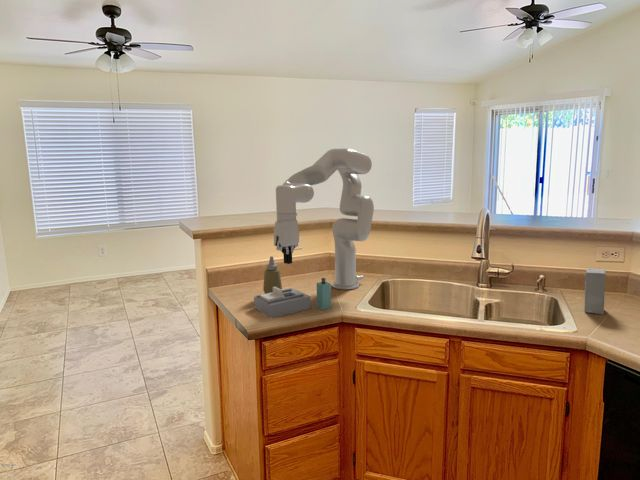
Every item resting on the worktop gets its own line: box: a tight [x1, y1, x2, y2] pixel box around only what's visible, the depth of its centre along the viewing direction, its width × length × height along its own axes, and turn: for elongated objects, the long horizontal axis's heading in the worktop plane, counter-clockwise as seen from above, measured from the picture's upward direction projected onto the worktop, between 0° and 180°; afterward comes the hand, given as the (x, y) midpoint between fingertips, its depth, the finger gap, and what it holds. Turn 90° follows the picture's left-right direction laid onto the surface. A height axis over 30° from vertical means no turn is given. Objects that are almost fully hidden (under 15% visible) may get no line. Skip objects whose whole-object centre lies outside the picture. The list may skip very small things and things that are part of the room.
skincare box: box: [584, 268, 607, 315], centre depth 177 cm, size 8×7×16 cm
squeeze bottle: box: [263, 256, 283, 294], centre depth 199 cm, size 8×8×18 cm
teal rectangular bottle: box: [316, 277, 332, 310], centre depth 186 cm, size 4×4×12 cm
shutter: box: [259, 287, 285, 301], centre depth 183 cm, size 7×7×3 cm
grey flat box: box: [253, 288, 312, 319], centre depth 186 cm, size 18×14×6 cm
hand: (288, 263), depth 183 cm, fingers closed
